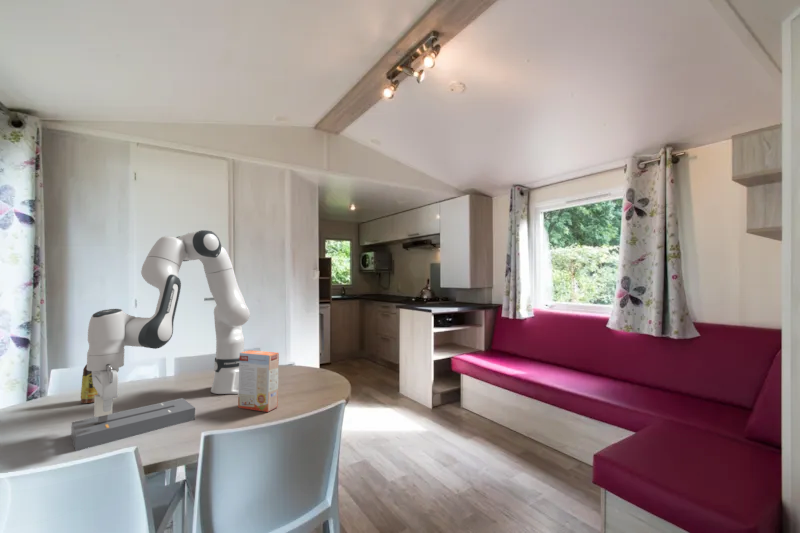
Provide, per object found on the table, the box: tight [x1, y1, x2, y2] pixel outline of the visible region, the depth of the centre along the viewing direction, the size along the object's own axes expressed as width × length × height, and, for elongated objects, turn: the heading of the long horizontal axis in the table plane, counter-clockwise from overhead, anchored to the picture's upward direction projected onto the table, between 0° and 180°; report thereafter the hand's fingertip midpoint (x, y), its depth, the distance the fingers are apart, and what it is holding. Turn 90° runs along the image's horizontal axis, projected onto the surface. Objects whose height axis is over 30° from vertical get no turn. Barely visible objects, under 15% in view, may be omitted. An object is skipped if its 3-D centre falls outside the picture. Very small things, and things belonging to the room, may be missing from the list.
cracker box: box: [237, 350, 280, 413], centre depth 130 cm, size 14×6×21 cm, turn 71°
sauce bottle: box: [80, 363, 98, 404], centre depth 134 cm, size 6×6×20 cm
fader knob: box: [93, 394, 114, 422], centre depth 106 cm, size 4×3×8 cm
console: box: [70, 397, 196, 452], centre depth 112 cm, size 30×14×4 cm, turn 138°
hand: (104, 406), depth 106 cm, fingers open, 8 cm apart
